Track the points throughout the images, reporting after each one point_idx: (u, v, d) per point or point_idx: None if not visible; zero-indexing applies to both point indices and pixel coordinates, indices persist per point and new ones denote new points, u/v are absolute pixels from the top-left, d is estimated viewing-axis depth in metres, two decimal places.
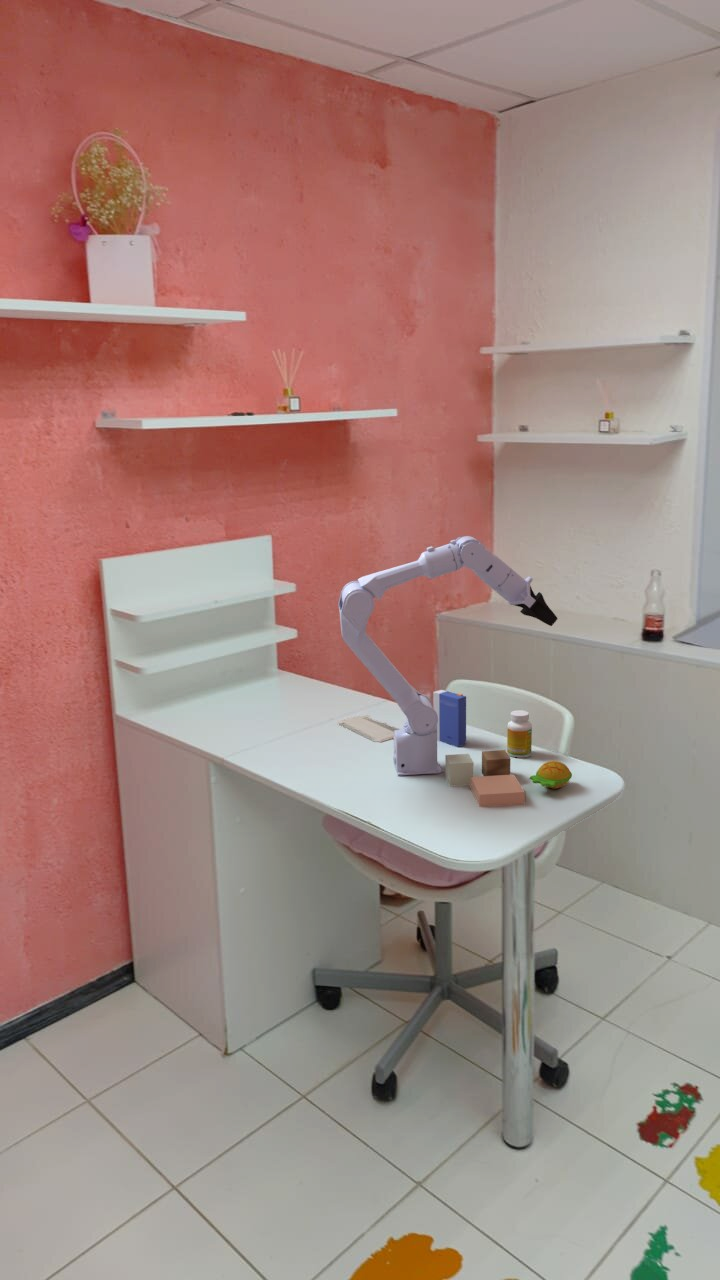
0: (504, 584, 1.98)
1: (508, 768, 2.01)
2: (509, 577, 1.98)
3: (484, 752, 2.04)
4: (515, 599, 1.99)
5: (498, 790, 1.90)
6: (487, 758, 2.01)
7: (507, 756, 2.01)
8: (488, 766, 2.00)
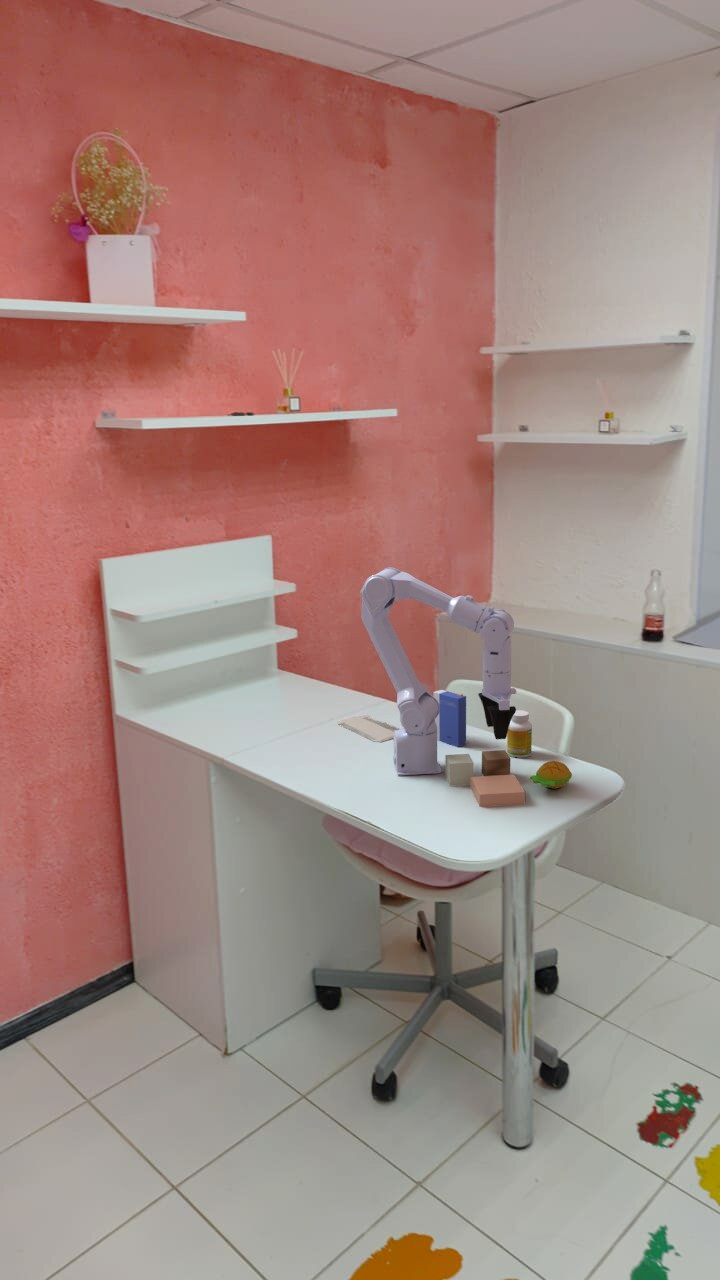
0: (497, 675, 1.95)
1: (508, 768, 2.01)
2: (505, 674, 1.96)
3: (484, 752, 2.04)
4: (492, 694, 1.96)
5: (498, 790, 1.90)
6: (487, 758, 2.01)
7: (507, 756, 2.01)
8: (488, 766, 2.00)
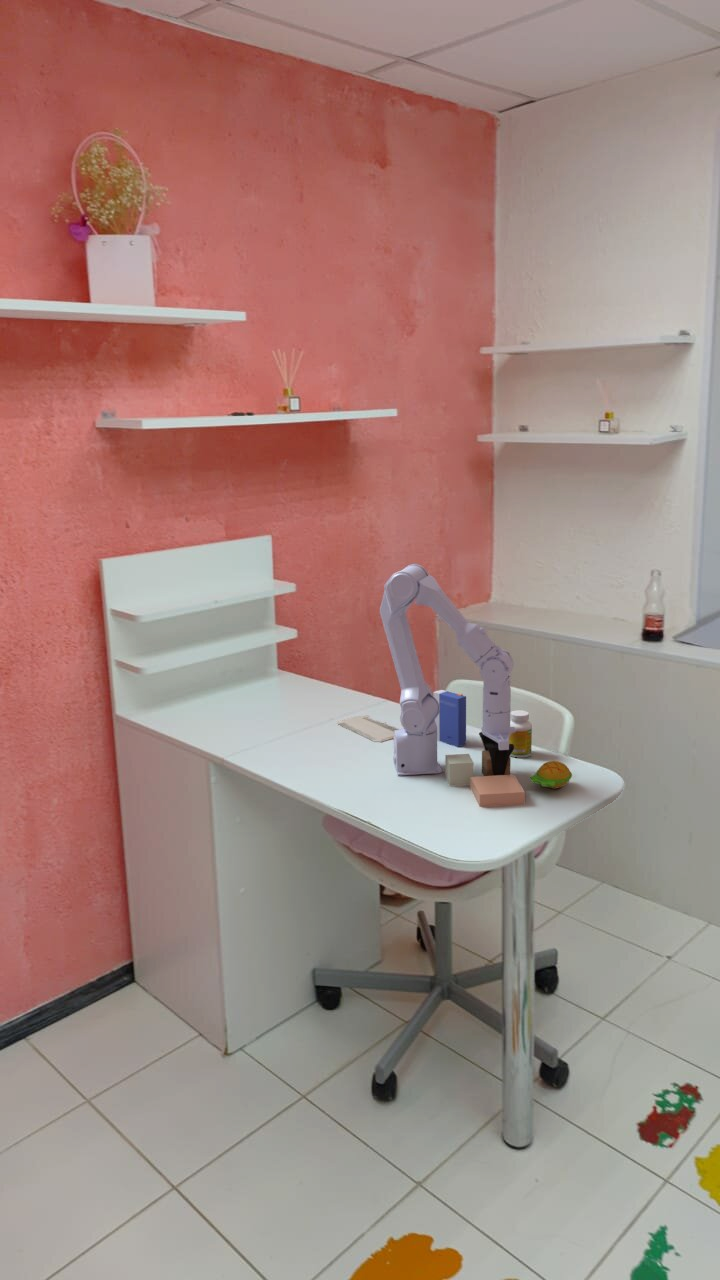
0: (496, 715, 1.97)
1: (508, 767, 2.01)
2: (504, 714, 1.98)
3: (484, 751, 2.04)
4: (491, 733, 1.99)
5: (498, 790, 1.90)
6: (487, 757, 2.01)
7: None
8: (488, 765, 2.00)
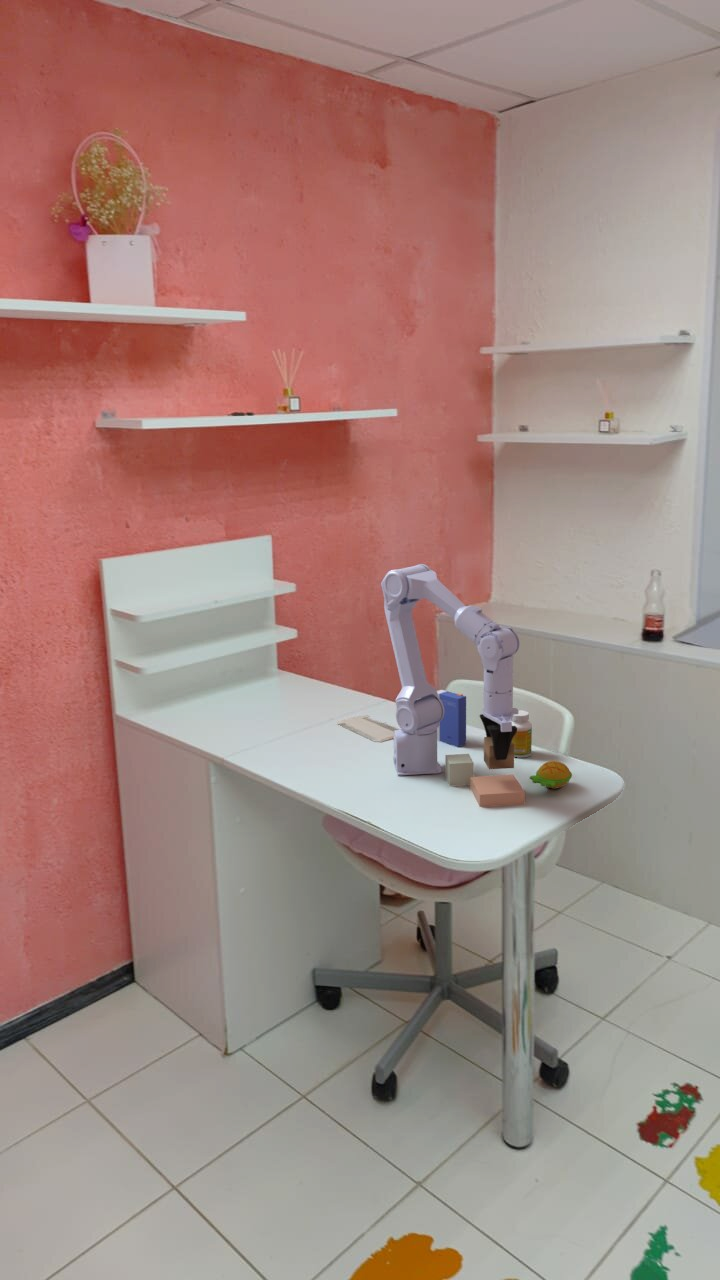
0: (498, 695, 1.87)
1: (512, 754, 1.91)
2: (507, 694, 1.87)
3: (486, 738, 1.94)
4: (493, 715, 1.88)
5: (498, 790, 1.90)
6: (490, 743, 1.91)
7: (511, 742, 1.91)
8: (491, 752, 1.90)
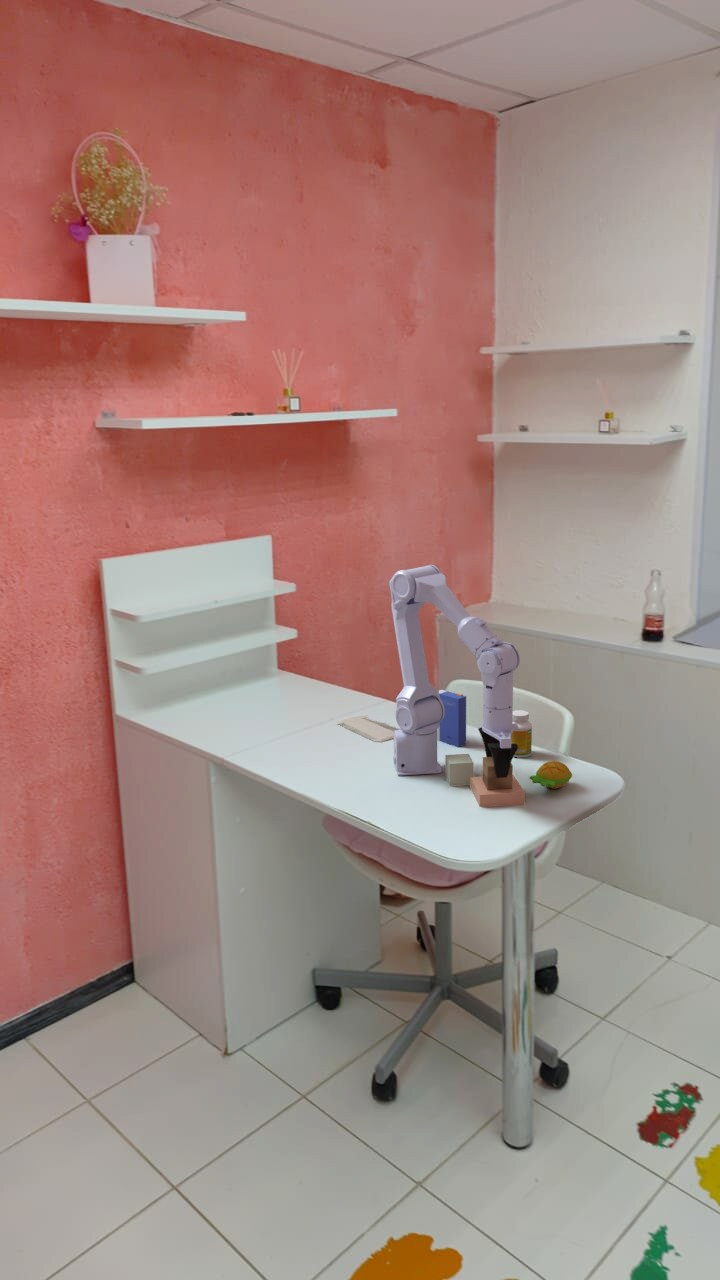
0: (498, 711, 1.86)
1: (510, 775, 1.90)
2: (506, 710, 1.87)
3: (485, 758, 1.94)
4: (493, 730, 1.88)
5: (499, 791, 1.90)
6: (488, 764, 1.90)
7: None
8: (489, 773, 1.90)
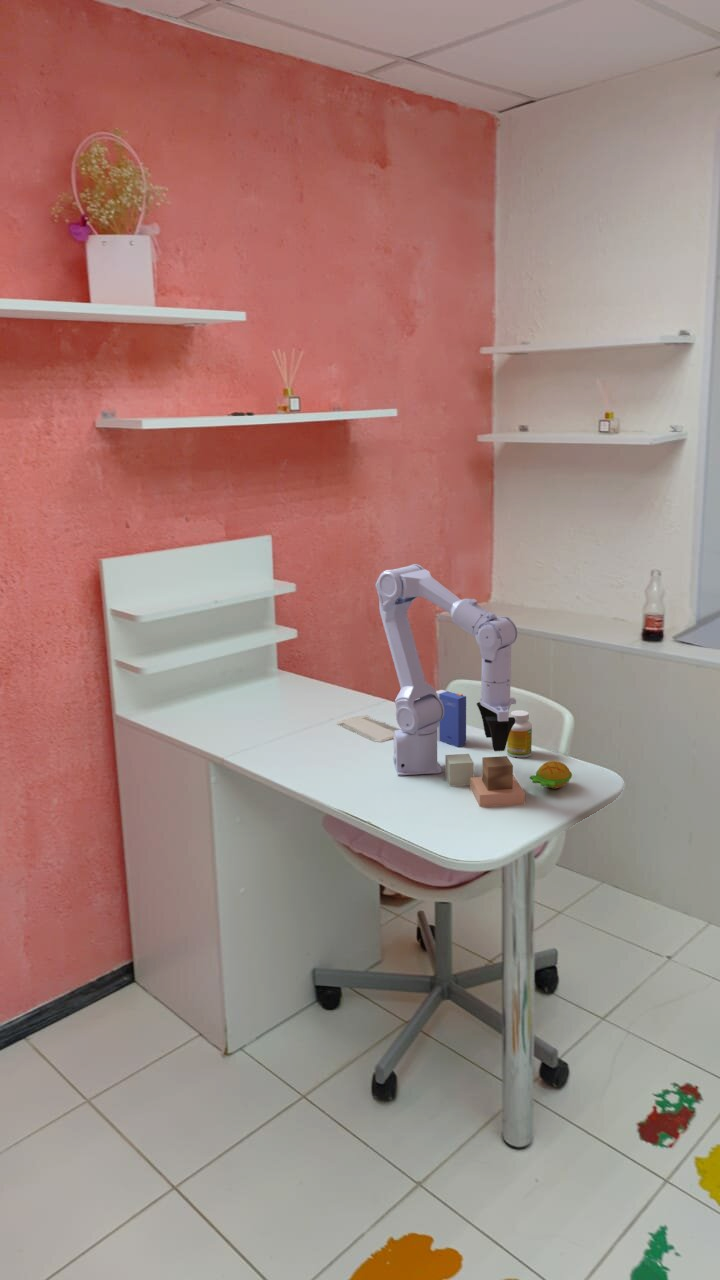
0: (496, 685, 1.88)
1: (510, 775, 1.90)
2: (504, 684, 1.88)
3: (485, 758, 1.93)
4: (490, 704, 1.89)
5: (498, 791, 1.90)
6: (488, 764, 1.90)
7: (509, 763, 1.91)
8: (490, 773, 1.90)
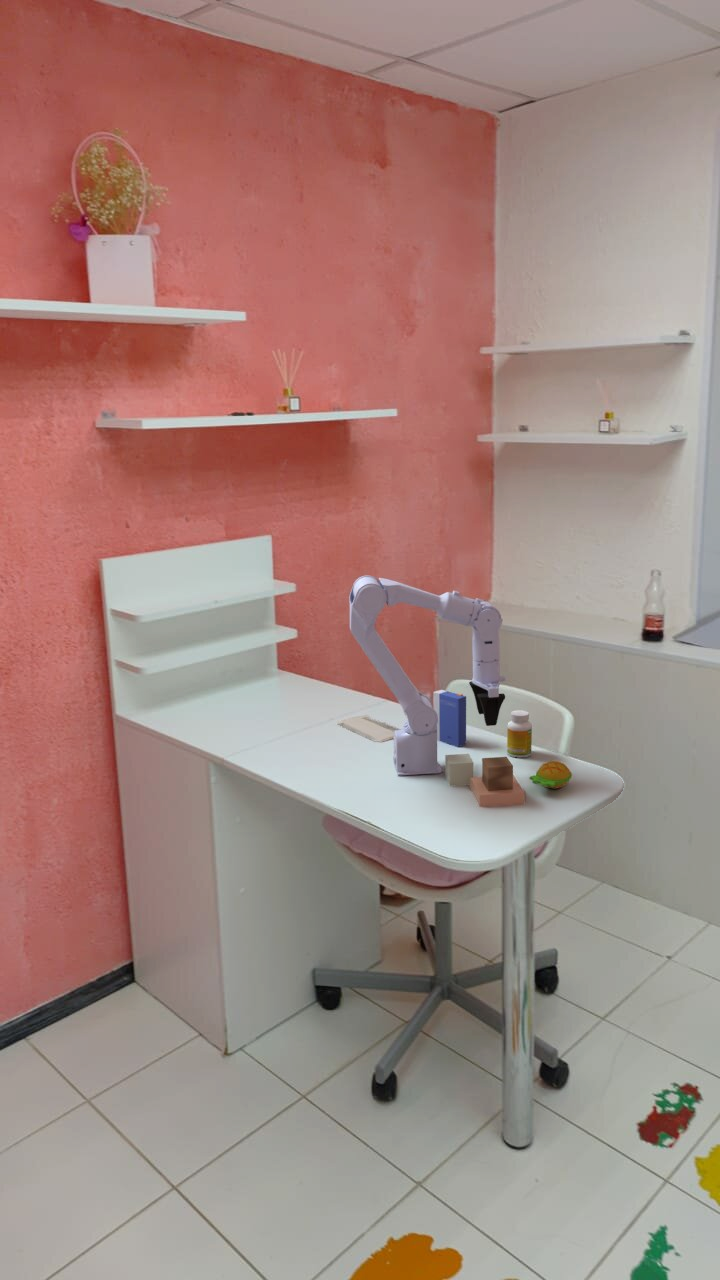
0: (486, 664, 2.02)
1: (510, 776, 1.90)
2: (494, 663, 2.02)
3: (485, 759, 1.93)
4: (482, 682, 2.03)
5: (498, 791, 1.90)
6: (488, 765, 1.90)
7: (509, 763, 1.91)
8: (490, 774, 1.90)
